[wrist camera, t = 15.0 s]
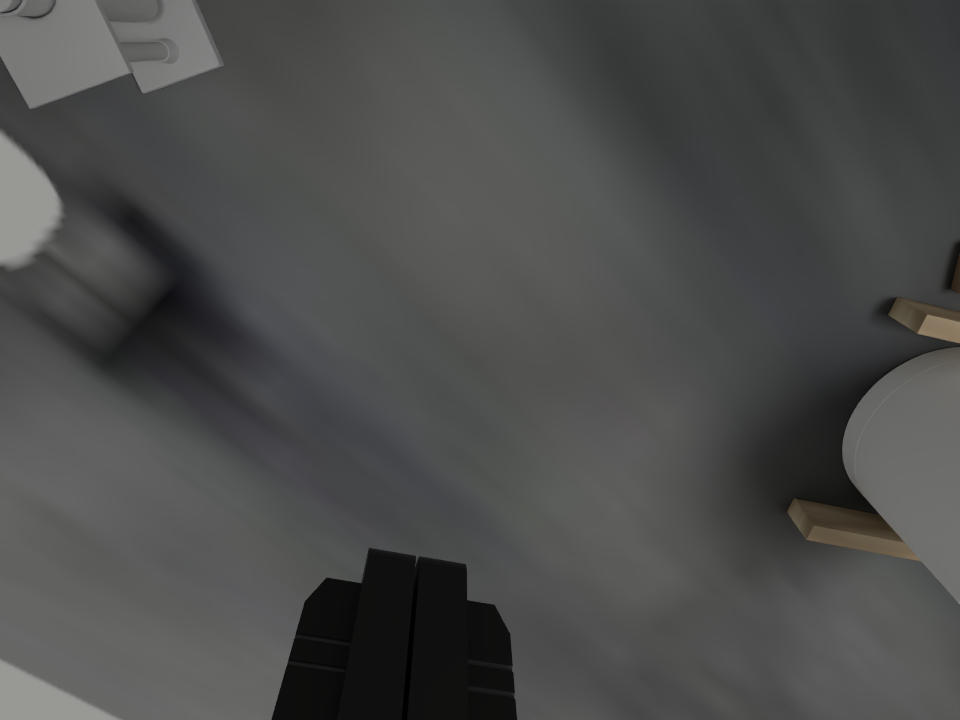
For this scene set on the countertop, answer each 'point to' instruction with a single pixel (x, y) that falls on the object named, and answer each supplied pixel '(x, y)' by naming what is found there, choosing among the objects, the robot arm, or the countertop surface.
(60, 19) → the test tube rack
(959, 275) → the brown block piece
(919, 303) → the cradle
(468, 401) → the countertop surface
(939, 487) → the cylinder
